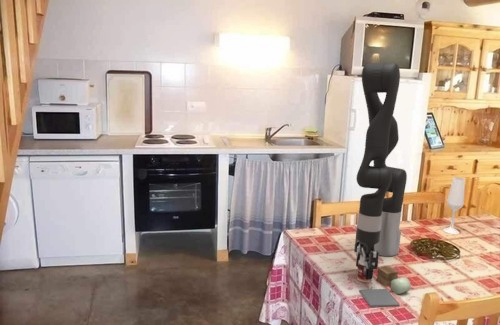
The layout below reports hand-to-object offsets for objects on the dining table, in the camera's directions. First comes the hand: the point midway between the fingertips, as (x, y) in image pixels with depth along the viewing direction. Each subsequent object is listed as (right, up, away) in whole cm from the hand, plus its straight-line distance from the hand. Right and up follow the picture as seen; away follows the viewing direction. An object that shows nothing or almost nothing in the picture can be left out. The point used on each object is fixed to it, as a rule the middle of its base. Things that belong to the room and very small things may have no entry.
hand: (363, 272), depth 140 cm
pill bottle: (0, -3, +1) cm, 3 cm away
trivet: (+2, -5, -11) cm, 12 cm away
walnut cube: (+7, -3, -1) cm, 8 cm away
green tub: (+8, -2, -8) cm, 11 cm away
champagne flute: (+51, +6, +47) cm, 70 cm away
